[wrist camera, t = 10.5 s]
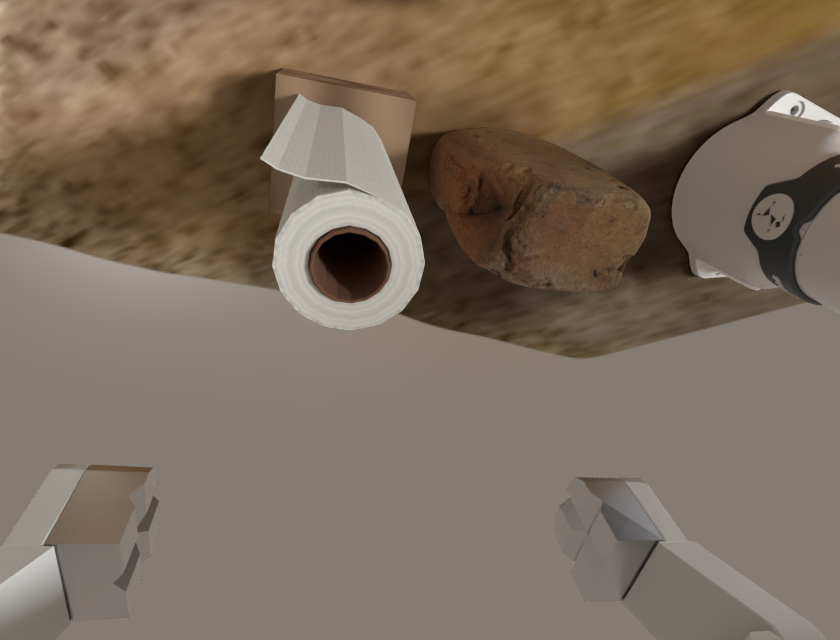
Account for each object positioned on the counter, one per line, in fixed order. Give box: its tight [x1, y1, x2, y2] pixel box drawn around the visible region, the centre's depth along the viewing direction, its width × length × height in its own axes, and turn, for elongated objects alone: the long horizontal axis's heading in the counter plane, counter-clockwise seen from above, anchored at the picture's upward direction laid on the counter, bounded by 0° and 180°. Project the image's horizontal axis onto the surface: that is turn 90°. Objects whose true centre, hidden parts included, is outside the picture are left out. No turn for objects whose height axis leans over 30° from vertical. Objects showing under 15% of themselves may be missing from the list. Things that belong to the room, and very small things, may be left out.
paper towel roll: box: [260, 94, 425, 331], centre depth 29 cm, size 7×6×21 cm
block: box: [429, 127, 651, 292], centre depth 38 cm, size 11×8×20 cm
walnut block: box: [269, 68, 417, 215], centre depth 41 cm, size 10×10×6 cm
